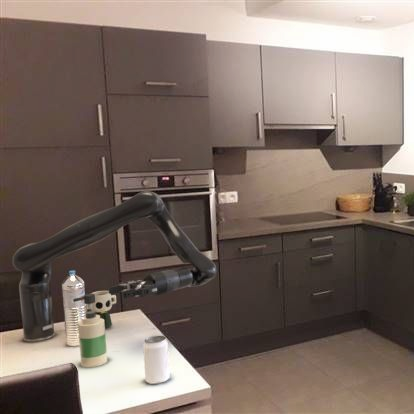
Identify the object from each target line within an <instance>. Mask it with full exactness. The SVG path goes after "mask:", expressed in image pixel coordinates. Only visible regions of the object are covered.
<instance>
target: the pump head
mask: <svg viewBox="0 0 414 414" xmlns="http://www.w3.org/2000/svg"><path fill="white" fill-rule="evenodd" d="M80 300H84V303H85V304H88V308H92V303H95V294H91V293H85V295H84V297H80V298H75V299H73V301H74V302H76V301H80Z"/></svg>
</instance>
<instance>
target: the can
mask: <svg viewBox="0 0 414 414" xmlns="http://www.w3.org/2000/svg"><path fill="white" fill-rule="evenodd" d="M142 347H143V363H144V377H145V379H144V380H145V382H146V383H147V384H150V385H159V384H163V383H165V382H167V381H168V380H169V379H170V377H171V376H170V375H171V373H170V358H169V357H170V356H169V344H168V340H167V337H166V335H153V336H149V337H147V338H145V339H144V343H143V346H142Z"/></svg>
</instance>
